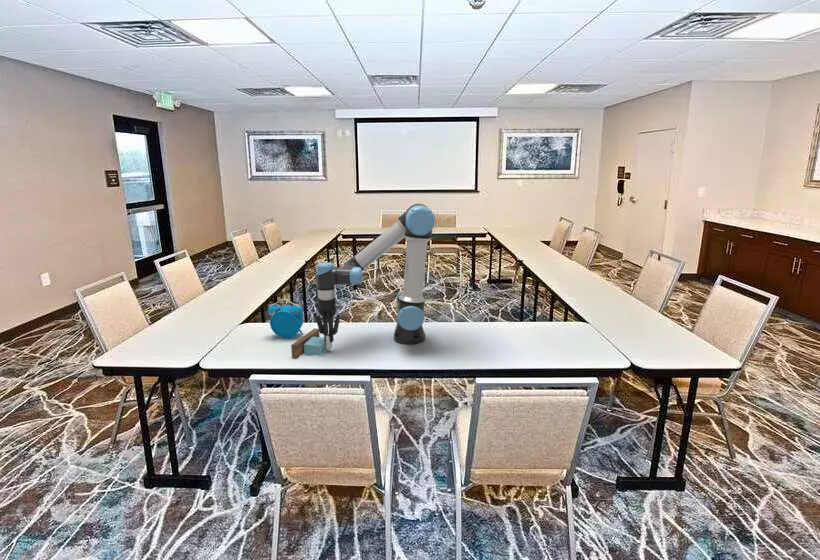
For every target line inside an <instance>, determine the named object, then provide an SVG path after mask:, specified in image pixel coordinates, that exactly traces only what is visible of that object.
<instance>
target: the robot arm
mask: <svg viewBox="0 0 820 560" xmlns="http://www.w3.org/2000/svg"><path fill="white" fill-rule="evenodd" d="M435 221H436V220H435V216H434V213H433V211H432V210H431V209H430V208H429V207H428V206H427V205H425V204H422V203H415V204H412V205H410V206H409V207H408V208H407V209H406V210H405V212H403V213H402V214H401V215H400V216H399V217H397V220H396V222H395V223H394V224H393V225H391V226H390V227H389V228H388V229H386V230H385V231H384V232H383V233H381V234H380V235H379V236H377V237H376V238H375V239H374V240H373V241H372V242H370V243H368V245H367V246H365V247H364V248H362V250H360V251H359V252H358V253H356V255H354V256H352V257H351V258H350V259H348V260H347V261H346V262H345V263H343V266H342V267H335V265H334V263H333V262H327V261H326V262H320V263H318V264H317V265H316V274H315V276H316V287H317V302H318V303H317V304H318V309H317V311H315V312H314V313H313V316H314V318H315V320H316V324H317V329H319V335H320V334H321V335H323V338H324V341H325V342H326V347H327V351H330V350H331V349H333V342H334V341H335V340H334V336H335V335H336V334H337V333H338V331H339V326H340V320H341V317H342V316H343V315H342V313H339V312H338V311H337V310H338V309H337V307H336V306H337V303H336V298H335V297H336V286H338V285H340V286H344V285H345V286H349V285H351V286H355V285H361V284H362V282H363V271H365V269H367V268H368V267H369V266H371V264H373V263H374V262H375V261H377V260H378V259H379V258H380V257H382V256H383V255H384V254H385V253H387V252H388V251H389V250H391V249H392V248H393V247H394V246H395V245H397V244H398V243H399V242H401V241H402V240H403V239H406V240H407V241H406V242H407V244H406V252H405V253H406V256H405V264H404V265H405V267H404V274H403V275H404V276H403V285H402V286H403V288H402V291H401V292H398V293H397V294H396V325H395V328H394V332H393V340H394V342H396V343H399V344H403V345H404V344H405V345H413V344H414V345H416V344H420V343H422V342H424V341H425V340H426V333H425V330H424V327H423V324H424V323H425V305H426V304H425V303H426V298H424V296H423V291H424V290H423V289H424V279H425V271H426V259H427V250H428V243H429V241H431V240H432V236H433V229H434V227H435V226H434V225H435V223H436V222H435ZM334 317H335V319H334Z"/></svg>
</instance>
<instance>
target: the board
mask: <svg viewBox="0 0 820 560" xmlns="http://www.w3.org/2000/svg"><path fill="white" fill-rule="evenodd" d="M320 336H321V335H320V332H319V328H313V329H311V330H310V331H309V332H307V333H306V334H304V335H303V336H302V337H300V338H299V339H297V340H296V341H295V342H293V343H292V344H291V345H290V348H291V358H292V359H296V358H297V359H299V358H300V357H301V356H302V355H304V354H303V353H304V344H305V343H306V342H307V341H308V340H310V339H311V338H312V337H320ZM300 355H301V356H300ZM299 356H300V357H299ZM298 357H299V358H298Z"/></svg>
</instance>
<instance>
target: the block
mask: <svg viewBox="0 0 820 560" xmlns="http://www.w3.org/2000/svg"><path fill="white" fill-rule="evenodd" d="M326 350H327V347H326V342H325V341H324V336H323V337H312V338H311V339H310V340H308V341H307V342H306V343H305V344H304V354H305V355H304V354H303V355H304V356H312V355H322V354H323V353H324V352H325V351H326ZM327 351H328V350H327ZM327 351H326V352H327ZM326 352H325V353H326ZM325 353H324V354H325ZM324 354H323V355H324ZM323 355H322V356H323Z"/></svg>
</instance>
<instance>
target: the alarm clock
mask: <svg viewBox="0 0 820 560" xmlns="http://www.w3.org/2000/svg"><path fill="white" fill-rule="evenodd" d="M280 301H287V302H289V303H290V304H291V305H290V304H288V305H282V306H281V305H280V304H278V303H279V302H280ZM303 310H304V309H303V307H302V305H301V304H297V303H293V302H292V301H291V300H288V299H286V298H282V299H279V300H278V301H276V302H275V303H272V304H268V309H267V313H268V315H269V316H271V317H270V319H269V326H270V329H271V330H272V332H273V334H275V335H276V336H278V337H280V338H282V339H292V338H294V337H295V336H297V335H298V333H300V335H301V336H302V335H303V336H304V333H303V332H302V330H301V328H302V326H303V324H304V315H303Z"/></svg>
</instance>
